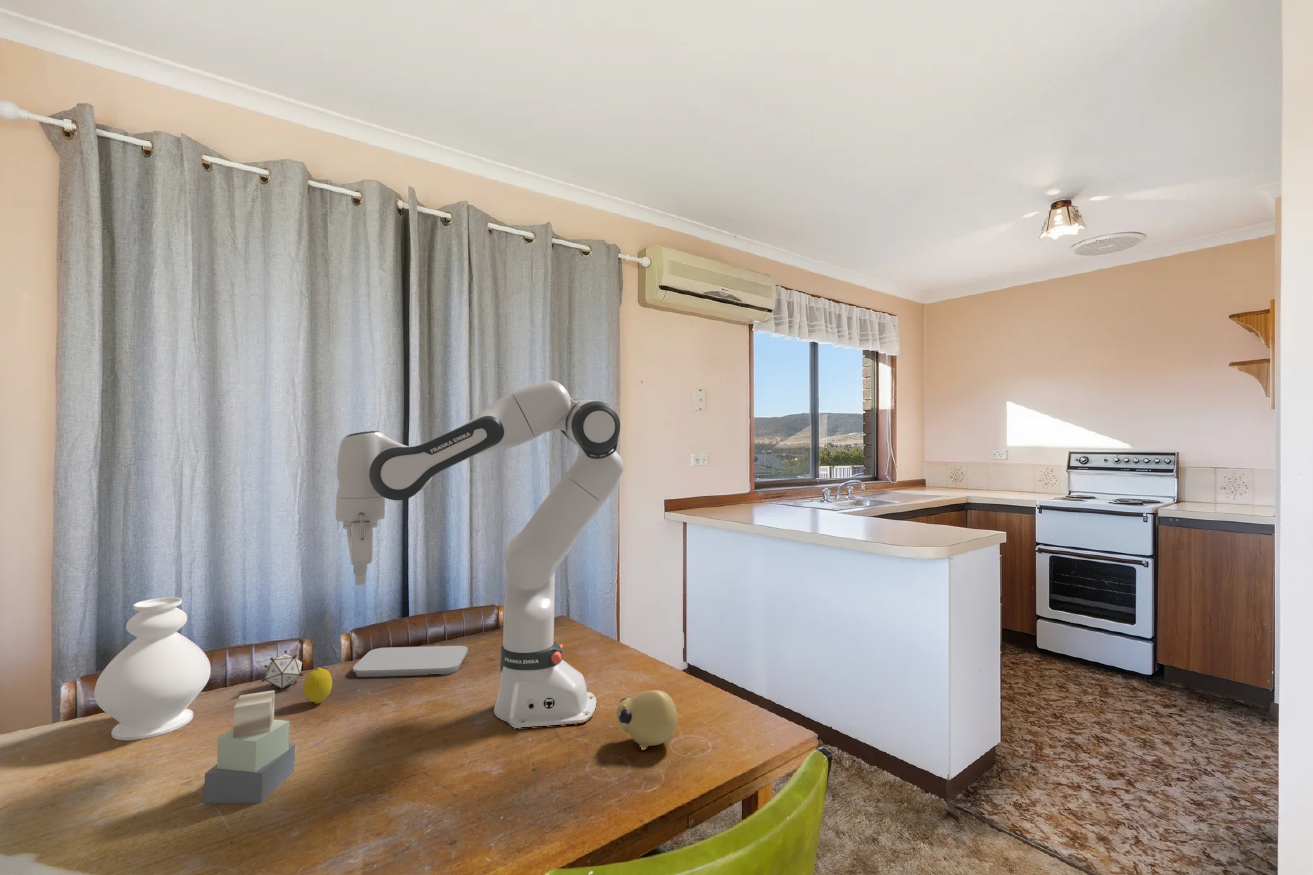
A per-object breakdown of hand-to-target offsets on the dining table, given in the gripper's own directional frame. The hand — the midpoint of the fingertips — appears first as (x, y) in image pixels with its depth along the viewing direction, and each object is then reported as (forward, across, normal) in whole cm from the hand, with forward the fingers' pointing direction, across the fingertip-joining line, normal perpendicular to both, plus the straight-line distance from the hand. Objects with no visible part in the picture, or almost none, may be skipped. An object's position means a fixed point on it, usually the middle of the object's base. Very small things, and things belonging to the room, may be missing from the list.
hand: (359, 579), depth 116 cm
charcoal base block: (+31, -12, +16) cm, 37 cm away
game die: (+31, +32, +14) cm, 46 cm away
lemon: (+31, +18, +7) cm, 37 cm away
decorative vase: (+31, +22, +36) cm, 52 cm away
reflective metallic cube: (+21, -12, +16) cm, 29 cm away
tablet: (+32, +33, -14) cm, 48 cm away
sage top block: (+26, -13, +16) cm, 33 cm away
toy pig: (+32, -31, -50) cm, 67 cm away
